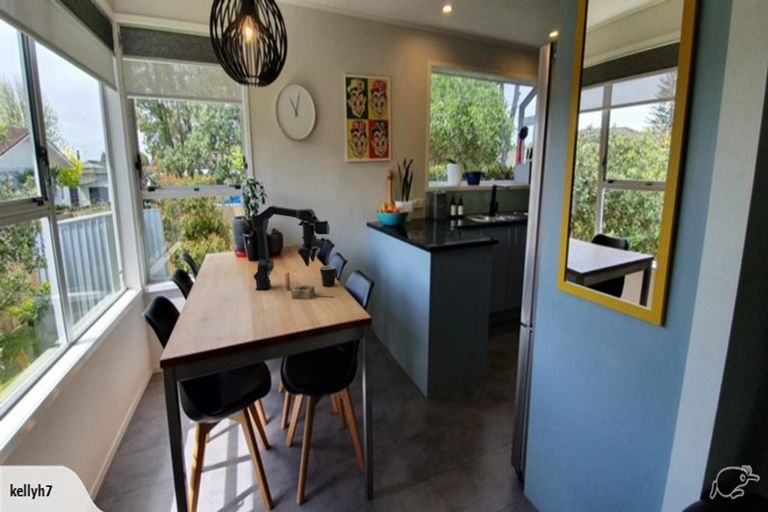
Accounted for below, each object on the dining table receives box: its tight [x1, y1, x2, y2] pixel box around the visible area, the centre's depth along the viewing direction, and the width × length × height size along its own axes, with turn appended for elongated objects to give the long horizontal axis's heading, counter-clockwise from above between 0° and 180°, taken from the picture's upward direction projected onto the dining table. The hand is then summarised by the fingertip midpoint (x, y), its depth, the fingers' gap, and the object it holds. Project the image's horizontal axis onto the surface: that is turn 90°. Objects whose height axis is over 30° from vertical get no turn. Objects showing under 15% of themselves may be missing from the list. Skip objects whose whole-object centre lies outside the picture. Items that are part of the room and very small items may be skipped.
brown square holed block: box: [291, 284, 316, 300], centre depth 184 cm, size 9×9×4 cm
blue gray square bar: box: [312, 294, 336, 299], centre depth 183 cm, size 11×1×1 cm, turn 76°
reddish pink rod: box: [284, 272, 291, 291], centre depth 193 cm, size 2×2×9 cm
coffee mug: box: [319, 265, 337, 288], centre depth 201 cm, size 12×9×10 cm
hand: (310, 263), depth 191 cm, fingers open, 9 cm apart
